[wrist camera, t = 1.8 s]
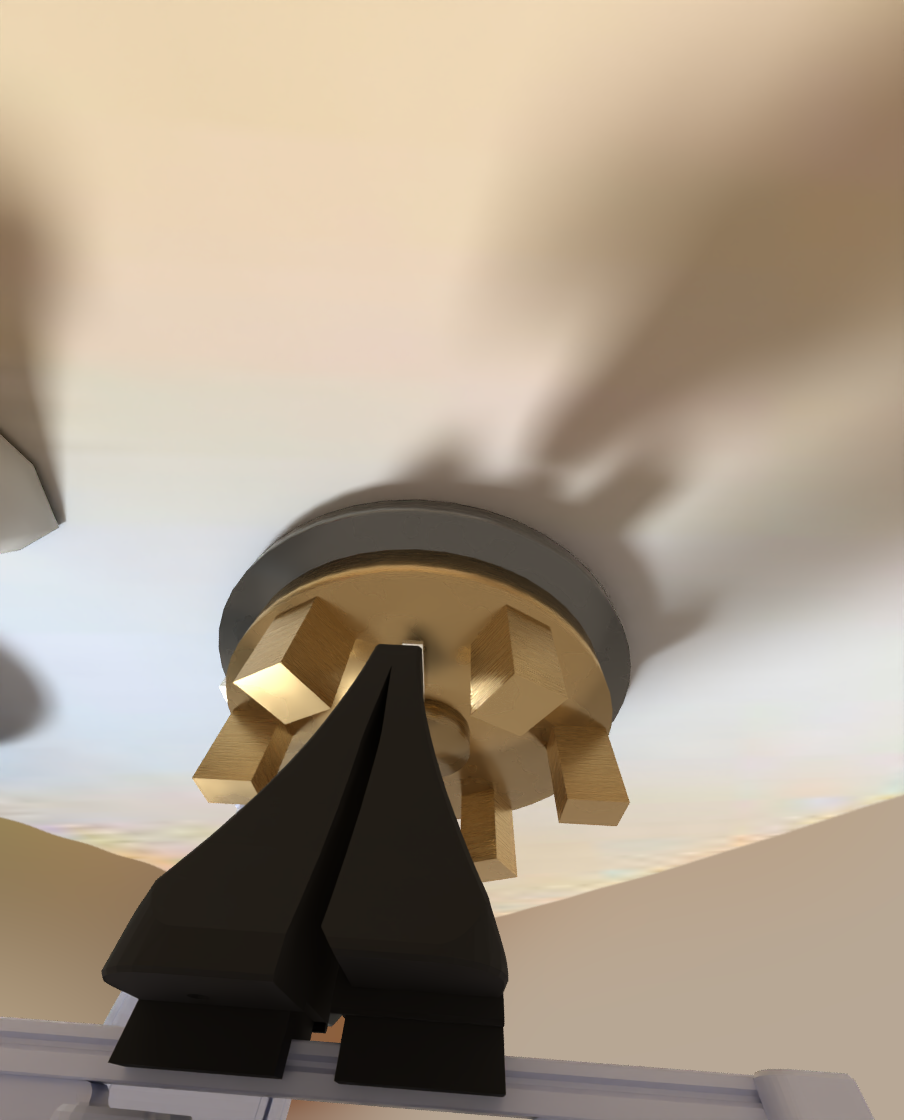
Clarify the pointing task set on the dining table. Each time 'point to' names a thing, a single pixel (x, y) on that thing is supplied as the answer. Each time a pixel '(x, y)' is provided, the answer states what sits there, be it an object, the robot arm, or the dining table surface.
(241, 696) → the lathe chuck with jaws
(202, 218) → the dining table surface
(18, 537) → the flask
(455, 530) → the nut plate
